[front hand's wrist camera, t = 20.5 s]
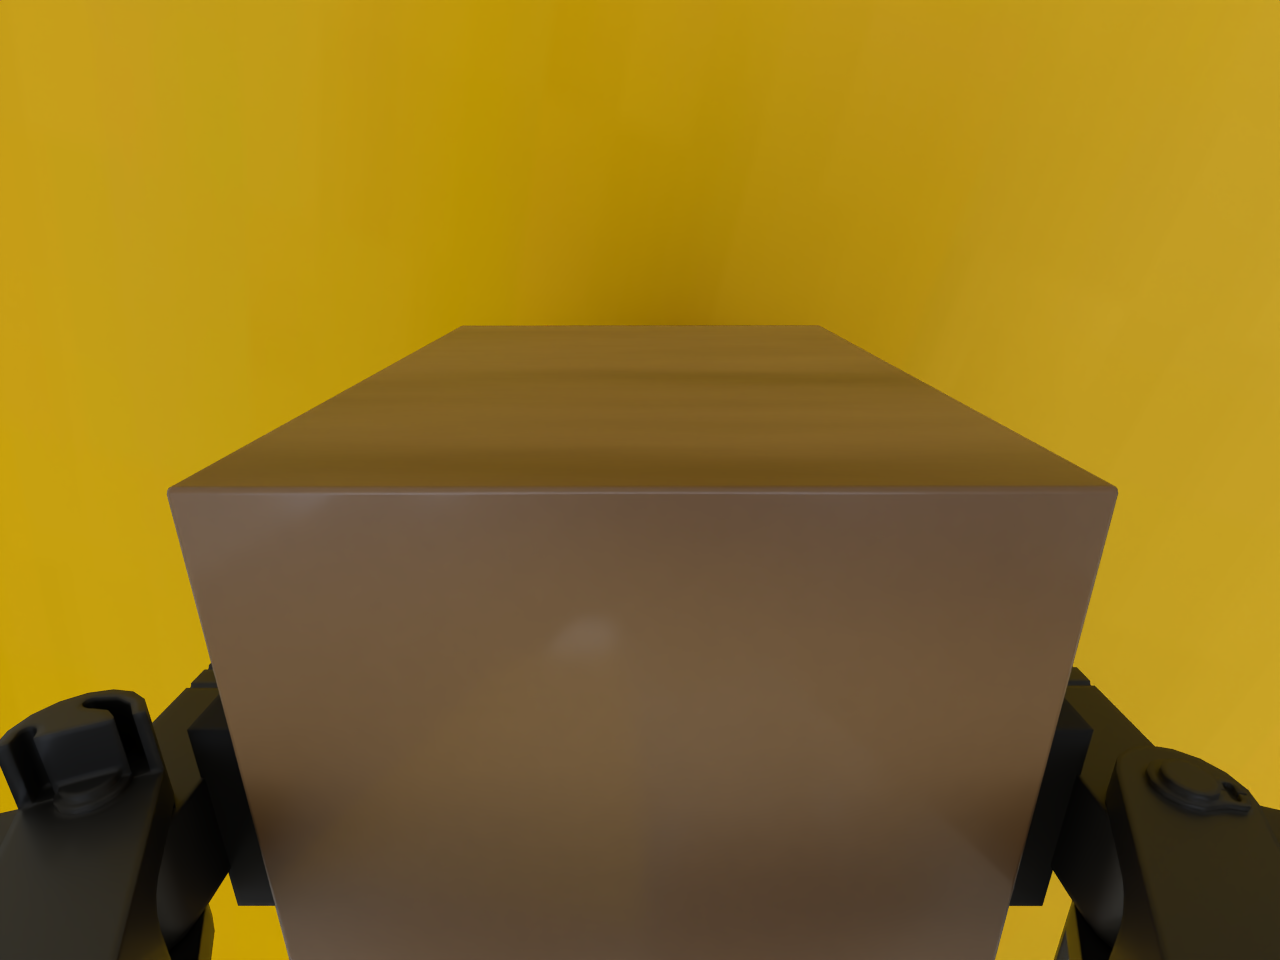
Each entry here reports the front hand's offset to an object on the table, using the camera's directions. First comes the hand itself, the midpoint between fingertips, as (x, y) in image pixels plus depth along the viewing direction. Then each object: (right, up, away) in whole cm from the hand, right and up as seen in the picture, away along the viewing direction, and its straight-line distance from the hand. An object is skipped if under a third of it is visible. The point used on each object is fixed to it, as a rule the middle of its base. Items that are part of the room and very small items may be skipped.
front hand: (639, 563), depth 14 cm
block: (0, +1, +3) cm, 4 cm away
